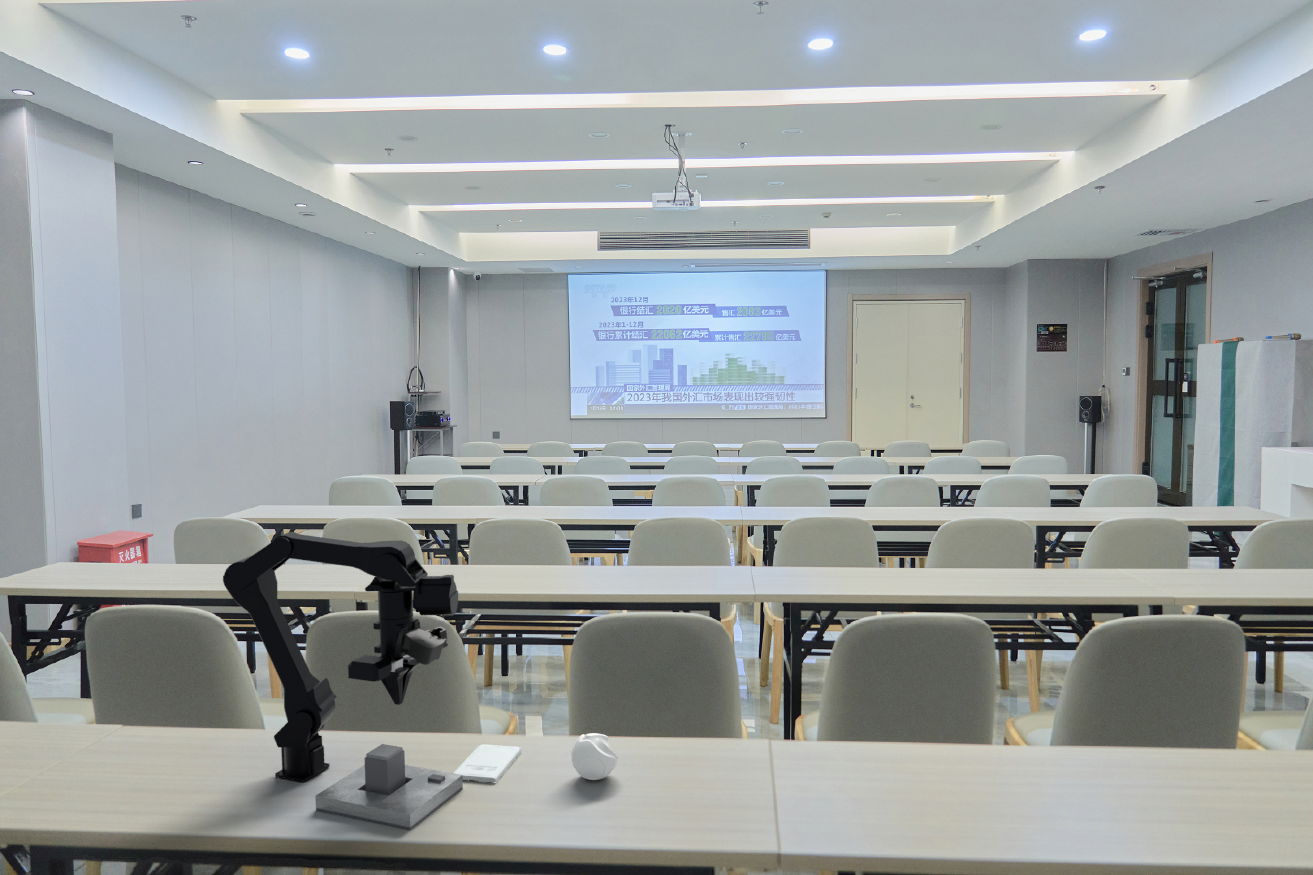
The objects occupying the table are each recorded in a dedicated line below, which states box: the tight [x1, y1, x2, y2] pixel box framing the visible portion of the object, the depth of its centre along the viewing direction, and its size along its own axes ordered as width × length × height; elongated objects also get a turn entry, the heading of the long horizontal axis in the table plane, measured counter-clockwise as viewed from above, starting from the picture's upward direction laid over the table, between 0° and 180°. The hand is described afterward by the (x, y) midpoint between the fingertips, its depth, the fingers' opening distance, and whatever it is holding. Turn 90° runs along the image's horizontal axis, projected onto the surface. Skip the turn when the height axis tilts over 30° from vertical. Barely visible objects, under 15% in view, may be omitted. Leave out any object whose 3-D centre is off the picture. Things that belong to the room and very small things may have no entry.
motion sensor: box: [571, 732, 619, 781], centre depth 146 cm, size 8×8×8 cm
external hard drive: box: [453, 743, 523, 783], centre depth 151 cm, size 2×8×12 cm
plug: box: [364, 743, 406, 796], centre depth 139 cm, size 4×4×8 cm
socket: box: [314, 764, 464, 831], centre depth 139 cm, size 18×14×3 cm
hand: (398, 703), depth 149 cm, fingers closed
